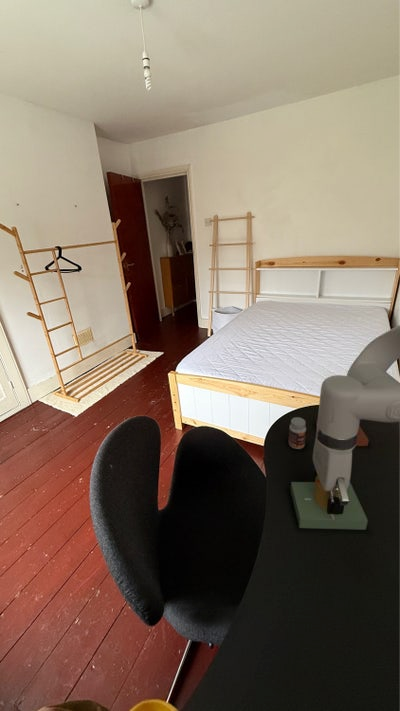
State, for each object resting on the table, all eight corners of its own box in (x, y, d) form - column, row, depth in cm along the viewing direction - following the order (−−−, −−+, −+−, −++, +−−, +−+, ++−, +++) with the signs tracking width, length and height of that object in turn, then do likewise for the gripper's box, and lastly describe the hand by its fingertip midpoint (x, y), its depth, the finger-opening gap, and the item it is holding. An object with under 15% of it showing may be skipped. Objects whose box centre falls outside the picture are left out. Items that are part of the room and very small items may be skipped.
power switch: (354, 424, 96) (356, 414, 94) (367, 446, 87) (369, 435, 85) (315, 424, 97) (316, 414, 95) (325, 446, 88) (326, 435, 86)
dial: (335, 489, 71) (338, 471, 68) (343, 510, 65) (347, 491, 63) (310, 489, 71) (312, 470, 69) (317, 510, 66) (319, 491, 64)
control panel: (348, 491, 73) (350, 481, 72) (365, 529, 64) (368, 519, 63) (290, 490, 75) (291, 481, 74) (299, 528, 66) (300, 518, 64)
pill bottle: (299, 451, 87) (301, 428, 83) (285, 444, 90) (286, 421, 86) (308, 443, 89) (310, 421, 86) (294, 436, 93) (295, 414, 89)
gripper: (306, 409, 69) (301, 465, 76) (330, 466, 53) (321, 529, 60) (340, 409, 68) (332, 465, 75) (374, 466, 52) (360, 530, 59)
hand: (327, 493), depth 68 cm, fingers open, 9 cm apart
